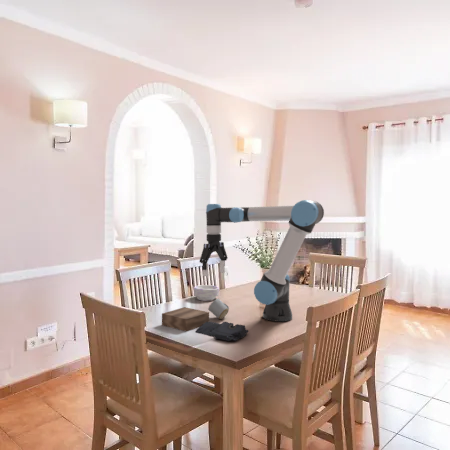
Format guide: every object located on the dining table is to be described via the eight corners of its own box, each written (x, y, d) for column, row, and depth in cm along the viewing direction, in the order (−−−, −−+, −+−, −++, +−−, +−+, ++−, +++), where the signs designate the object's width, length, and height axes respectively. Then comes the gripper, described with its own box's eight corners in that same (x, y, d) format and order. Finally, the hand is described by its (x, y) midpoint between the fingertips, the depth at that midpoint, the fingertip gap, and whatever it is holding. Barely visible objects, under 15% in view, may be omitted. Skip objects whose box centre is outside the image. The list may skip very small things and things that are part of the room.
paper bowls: (223, 300, 254) (224, 287, 254) (204, 304, 244) (204, 290, 244) (207, 296, 266) (207, 283, 265) (188, 299, 256) (188, 286, 255)
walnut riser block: (208, 324, 204) (209, 312, 204) (186, 332, 191) (186, 319, 191) (184, 318, 214) (184, 307, 213) (161, 325, 201) (161, 313, 200)
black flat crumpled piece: (211, 325, 203) (211, 315, 203) (251, 333, 191) (251, 322, 191) (192, 333, 190) (192, 322, 190) (233, 342, 178) (233, 331, 178)
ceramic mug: (218, 322, 212) (221, 313, 207) (206, 312, 215) (209, 302, 210) (232, 311, 218) (235, 302, 214) (220, 302, 222) (223, 292, 217)
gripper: (222, 232, 230) (223, 270, 231) (192, 234, 210) (192, 277, 211) (233, 232, 225) (234, 272, 226) (203, 235, 205) (204, 278, 206)
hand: (214, 274), depth 218 cm, fingers open, 13 cm apart
